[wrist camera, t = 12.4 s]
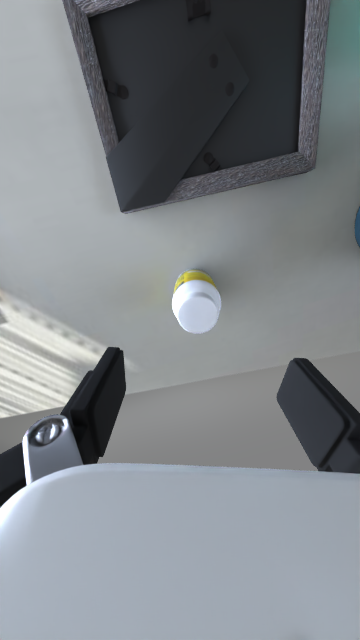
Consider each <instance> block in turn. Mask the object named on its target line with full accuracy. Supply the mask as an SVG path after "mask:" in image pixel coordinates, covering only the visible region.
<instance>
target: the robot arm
mask: <svg viewBox="0 0 360 640" xmlns="http://www.w3.org/2000/svg"><path fill="white" fill-rule="evenodd" d="M125 391H126V381H125V369H124V356H123V351H122V350H120V348H117V347H108V348H107V350H106V351H105V353H104V354H103V356H102V358H101V359H100V361H99V362H98V364H97V366H96V367H95V369H94V370H93V371H91V370H90V371H88V373H87V374H86V375H85V377H84V378H83V380H82V381H81V383H80V384H79V386H78V387H77V389H76V391H75V392H74V394H73V395H72V397H71V398H70V400H69V401H68V403H67V404H66V406H65V407H64V409H63V410H62V412H61V414H60V415H58V414H56V415H50V416H47V417H44V418H43V419H40V420H39V421H37V422H36V423H35V424H33V425H32V426H31V427H30V428H29V429H28V431H27V432H26V434H25V436H24V438H23V442H22V443H20V444H18V445H17V446H15V447H13V448H11V449H9V450H7V451H5V452H4V453H2V454H0V640H360V413H359V412H358V411H357V410H356V409H355V408H354V407H353V406H352V405H351V404H350V403H349V402H348V401H347V400H346V399H345V398H344V396H343V395H342V394H341V393H339V391H338V390H337V389H336V388H335V387H334V386H333V385H332V384H331V383H330V382H329V381H328V380H327V379H326V378H325V377H324V376H323V375H322V374H321V373H320V372H319V371H318V370H317V369H316V368H315V367H314V366H313V364H312V363H311V362H310V361H309V360H308V359H306V358H294V359H293V360H291V361H290V363H289V365H288V368H287V371H286V373H285V376H284V378H283V381H282V383H281V386H280V388H279V391H278V393H277V401H278V403H279V405H280V407H281V409H282V410H283V412H284V414H285V416H286V418H287V419H288V421H289V423H290V425H291V427H292V428H293V430H294V432H295V434H296V436H297V437H298V439H299V441H300V443H301V445H302V446H303V448H304V450H305V452H306V454H307V455H308V457H309V459H310V461H311V463H312V464H313V465H314V466H315V467H317V469H318V471H301V470H300V471H299V470H281V469H261V468H239V467H238V468H237V467H217V466H192V465H169V464H133V463H103V464H102V463H101V464H97V462H98V459H99V457H103V455H104V453H105V450H106V447H107V444H108V441H109V439H110V436H111V433H112V430H113V427H114V424H115V421H116V418H117V415H118V412H119V409H120V406H121V404H122V401H123V398H124V395H125Z"/></svg>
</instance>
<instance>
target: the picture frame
mask: <svg viewBox="0 0 360 640" xmlns="http://www.w3.org/2000/svg"><path fill="white" fill-rule="evenodd" d="M62 1H63V4H64V8H65V11H66V15H67V18H68V22H69V25H70V29H71V33H72V36H73V40H74V43H75V47H76V50H77V54H78V57H79V61H80V65H81V68H82V72H83V75H84V79H85V82H86V86H87V89H88V93H89V97H90V100H91V104H92V107H93V111H94V114H95V118H96V121H97V125H98V129H99V132H100V136H101V139H102V143H103V146H104V150H105V153H106V159H107V163H108V166H109V170H110V174H111V177H112V181H113V185H114V188H115V192H116V196H117V199H118V203H119V207H120V210H121V212H122V213H130V212H135V211H139V210H144V209H148V208H152V207H157V206H161V205H166V204H170V203H174V202H179V201H183V200H187V199H192V198H196V197H201V196H205V195H209V194H214V193H218V192H223V191H227V190H231V189H236V188H240V187H245V186H249V185H253V184H258V183H262V182H266V181H271V180H275V179H280V178H284V177H288V176H293V175H297V174H302V173H306V172H308V171H310V170H313V169H315V166H316V154H317V143H318V132H319V121H320V110H321V99H322V87H323V76H324V65H325V54H326V43H327V31H328V20H329V9H330V0H62Z"/></svg>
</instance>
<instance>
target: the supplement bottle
mask: <svg viewBox="0 0 360 640" xmlns="http://www.w3.org/2000/svg"><path fill="white" fill-rule="evenodd" d="M172 307H173V311H174V314H175V316H176V317H177V319H178V321H179V323H180V325H181V326H182V328H184V329H185V330H186V331H188V332H191V333H196V334H199V333H204V332H207V331H209V330H210V329H212V328H213V327H214V326H215V324H216V323H217V320H218V316H219V312H220V309H221V298H220V294H219V292H218V290H217V288H216V286H215V284H214V282H213V280H212V278H211V277H210V276H209V274H208V273H206V272H205V271H203V270H200V269H190V270H187V271H185V272H183V273H182V274H181V275H180V276H179V278H178V279H177V282H176V285H175V290H174V295H173V300H172Z"/></svg>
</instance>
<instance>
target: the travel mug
mask: <svg viewBox="0 0 360 640" xmlns="http://www.w3.org/2000/svg"><path fill="white" fill-rule="evenodd" d="M355 236H356V240H357V243H358V245H359V247H360V207H359V210H358V213H357V217H356V221H355Z"/></svg>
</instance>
